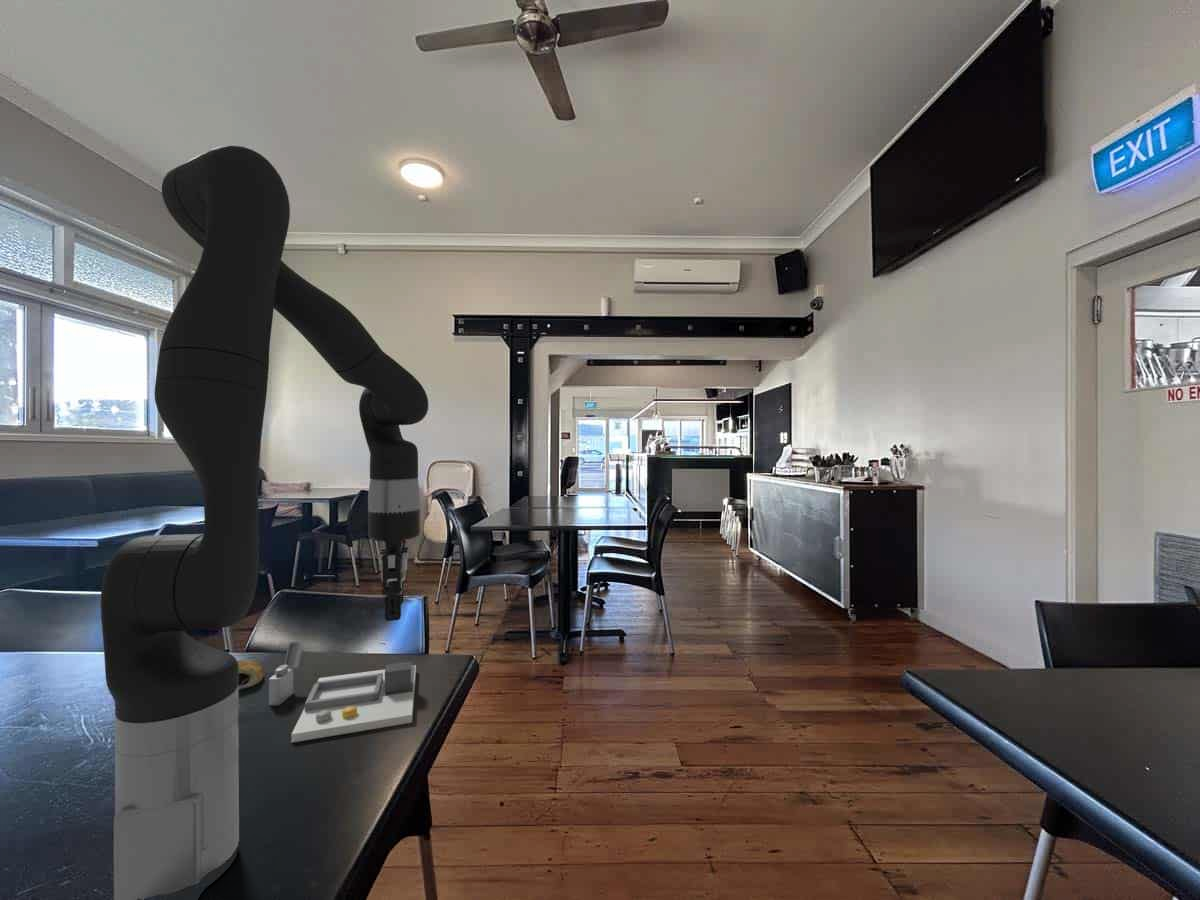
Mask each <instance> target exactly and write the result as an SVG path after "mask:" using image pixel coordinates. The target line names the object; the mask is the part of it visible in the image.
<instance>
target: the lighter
mask: <svg viewBox="0 0 1200 900" xmlns="http://www.w3.org/2000/svg"><path fill="white" fill-rule="evenodd" d="M303 646H304V643H303V642H301V641H290V642H289V643H288V646H287V651H286V656H285V660H284V663H283V664H282V665H280V666H278V667H277V668H276V669H275V670H274V672H275V673H274V675H272V676H271V677H269V679H268V705H269V706H281V704H283V702H285V701H286V700H287V699H288V698H290V697H291V696H292V695H293V694H294V669H298V667H299V664H300V659H301V655H302V650H303Z"/></svg>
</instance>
